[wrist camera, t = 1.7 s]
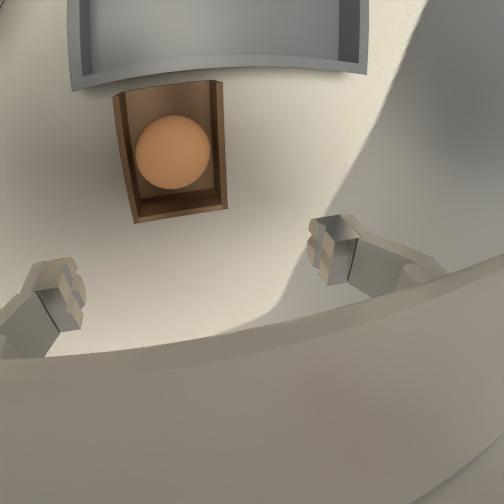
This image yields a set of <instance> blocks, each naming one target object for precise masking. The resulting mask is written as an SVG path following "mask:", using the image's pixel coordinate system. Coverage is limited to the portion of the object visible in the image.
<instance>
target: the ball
mask: <svg viewBox="0 0 504 504" xmlns="http://www.w3.org/2000/svg"><path fill="white" fill-rule="evenodd" d="M135 158H136V163H137V166H138V169H139V171H140V172H141V174H142V175H143V177H144V178H145V179H146V180H147V181H149V182H150V183H151V184H153V185H155V186H157V187H160V188H164V189H178V188H182V187H185V186H187V185H189V184H191V183H193V182H194V181H196V180H197V179H198V178H199V177H200V176H201V175H202V173H203V172H204V170H205V169H206V167H207V164H208V162H209V158H210V143H209V140H208V137H207V135H206V133H205V131H204V130H203V128H202V127H201V126H200V125H199V124H198V123H196V122H195V121H194V120H192V119H190V118H187V117H184V116H180V115H169V116H164V117H161V118H159V119H157V120H155V121H153V122H152V123H150V124H149V125H148V126H147V127H146V128H145V129H144V130H143V132H142V133H141V135H140V137H139V139H138V141H137V144H136V150H135Z"/></svg>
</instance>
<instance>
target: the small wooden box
mask: <svg viewBox="0 0 504 504" xmlns="http://www.w3.org/2000/svg"><path fill="white" fill-rule="evenodd" d="M113 106H114V114H115V122H116V129H117V136H118V143H119V149H120V155H121V161H122V167H123V172H124V177H125V183H126V188H127V193H128V198H129V202H130V207H131V212H132V216H133V220H134V224H136V223H141V222H147V221H153V220H159V219H165V218H171V217H177V216H183V215H190V214H196V213H202V212H209V211H216V210H223V209H228V204H227V184H226V162H225V137H224V109H223V82H220V81H216V80H207V81H195V82H186V83H177V84H169V85H161V86H155V87H148V88H142V89H136V90H131V91H126V92H121V93H119V94H117V95H115V96H114V97H113ZM169 115H180V116H184V117H187V118H190V119H192V120H194V121H195V122H196V123H198V124H199V125H200V126H201V127H202V128H203V130H204V131H205V133H206V135H207V137H208V140H209V143H210V158H209V162H208V164H207V167H206V169H205V170H204V172H203V173H202V175H201V176H200V177H199V178H198V179H197V180H196V181H194V182H193V183H191V184H189V185H187V186H185V187H182V188H178V189H164V188H160V187H157V186H155V185H153V184H151V183H150V182H149V181H147V180H146V179H145V178H144V177H143V175H142V174H141V172H140V171H139V169H138V166H137V163H136V158H135V150H136V144H137V141H138V139H139V137H140V135H141V133H142V132H143V130H144V129H145V128H146V127H147V126H148V125H149V124H150V123H152V122H153V121H155V120H157V119H159V118H161V117H164V116H169Z"/></svg>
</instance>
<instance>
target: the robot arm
mask: <svg viewBox="0 0 504 504" xmlns="http://www.w3.org/2000/svg"><path fill="white" fill-rule="evenodd" d="M309 231H310V233H311V234H312V235H311V237H310V238H309V239H308V241H307V254H308V258H309V260H310V262H311V264H312V265H313V266H314V267H316V268H318V269H319V273H318V275H319V276H320V277H321V279H322V280H323V282H324V283H325V285H326V286H330V285H335V284H340V283H345V282H348V283H349V284H350V285H352V286H353V287H355V288H357V289H358V290H360V291H362V292H363V293H365V294H366V295H368V296H370V297H371V298H372V299H368V300H365V301H362V302H358V303H354V304H351V305H347V306H343V307H339V308H336V309H332V310H328V311H324V312H320V313H316V314H312V315H308V316H304V317H300V318H295V319H291V320H287V321H283V322H278V323H274V324H270V325H265V326H260V327H255V328H251V329H246V330H241V331H236V332H231V333H226V334H220V335H215V336H210V337H204V338H199V339H193V340H187V341H181V342H175V343H169V344H162V345H155V346H148V347H141V348H134V349H126V350H118V351H109V352H100V353H91V354H80V355H69V356H56V357H45V355H46V353H47V352H48V350H49V349H50V347H51V346H52V344H53V343H54V341H55V340H56V338H57V337H58V335H59V334H60V333H59V332H65V331H72V330H79V329H81V324H82V319H83V313H82V311H81V309H82V308H83V306H84V305H85V302H86V290H85V286H84V283H83V280H82V278H81V277H80V276H78V275H77V274H76V270H77V266H76V264H75V261H74V259H73V258H71V257H68V258H62V259H56V260H50V261H43V262H39V263H35V264H33V265H32V267H31V270H30V272H29V274H28V276H27V278H26V281H25V283H24V285H23V288H22V290H21V292H20V294H17V295H15V296H14V297H13V298H12V299H11V300H10V301H9V302H8V303H7V304H6V305H5V306H4V307H3V308H2V309H1V310H0V504H504V253H503V254H500V255H498V256H495V257H493V258H490V259H488V260H485V261H483V262H480V263H477V264H475V265H472V266H469V267H467V268H464V269H461V270H458V271H455V272H453V273H450V274H449V273H448V272H447V271H446V270H445V269H444V268H443V267H442V266H441V265H440V264H439V263H438V262H437V261H436V260H435V259H434V258H433V257H431V256H429V255H427V254H424V253H421V252H419V251H416V250H414V249H412V248H409V247H407V246H405V245H402V244H399V243H397V242H395V241H392V240H389V239H387V238H384V237H381V236H379V235H373V234H372V233H371V232H370V231H369V230H368V229H367V228H366V227H365V226H364V225H363V224H362V223H361V222H360V221H359V220H358V219H357V218H355V217H354V216H353V215H352V214H350V213H346V214H340V215H335V216H328V217H322V218H316V219H311V221H310V223H309Z"/></svg>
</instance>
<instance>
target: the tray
mask: <svg viewBox="0 0 504 504" xmlns="http://www.w3.org/2000/svg"><path fill="white" fill-rule="evenodd" d="M67 29H68V52H69V67H70V78H71V87H72V92H73V91H76V90H80V89H84V88H88V87H92V86H96V85H100V84H104V83H109V82H113V81H118V80H123V79H128V78H134V77H139V76H145V75H151V74H158V73H165V72H173V71H182V70H192V69H204V68H219V67H250V66H265V67H296V68H311V69H323V70H333V71H342V72H350V73H357V74H364V75H367V63H368V37H369V0H68V2H67Z"/></svg>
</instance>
